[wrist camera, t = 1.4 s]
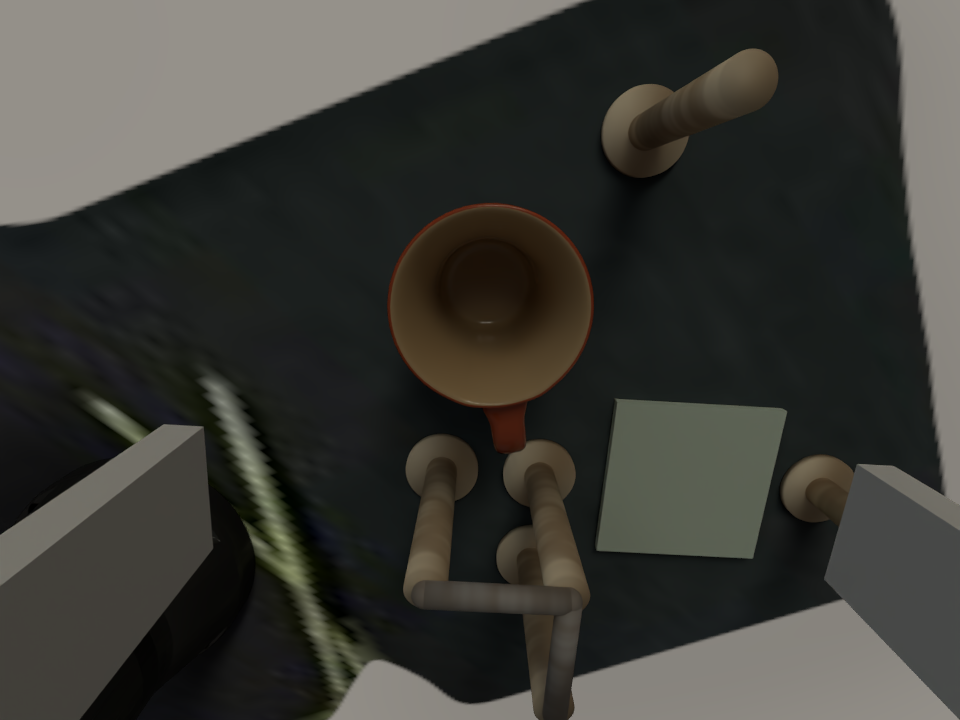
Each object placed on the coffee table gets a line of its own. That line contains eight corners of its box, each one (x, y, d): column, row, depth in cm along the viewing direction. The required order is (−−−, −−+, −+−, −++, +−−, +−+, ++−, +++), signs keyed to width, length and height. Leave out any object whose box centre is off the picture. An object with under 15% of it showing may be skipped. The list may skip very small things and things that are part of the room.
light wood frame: (403, 576, 37) (367, 756, 25) (407, 431, 34) (368, 553, 22) (560, 584, 38) (600, 766, 25) (577, 440, 35) (633, 567, 22)
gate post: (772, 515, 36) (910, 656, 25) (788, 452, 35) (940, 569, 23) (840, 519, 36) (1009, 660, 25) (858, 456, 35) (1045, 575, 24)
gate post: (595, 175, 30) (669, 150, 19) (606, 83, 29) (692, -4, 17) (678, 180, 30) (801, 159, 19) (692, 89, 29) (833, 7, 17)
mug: (403, 218, 31) (368, 220, 21) (550, 196, 31) (584, 187, 21) (436, 407, 34) (419, 485, 24) (570, 388, 34) (608, 460, 24)
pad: (594, 545, 37) (596, 550, 36) (615, 398, 34) (617, 402, 33) (748, 553, 37) (752, 558, 37) (781, 408, 34) (786, 411, 34)
